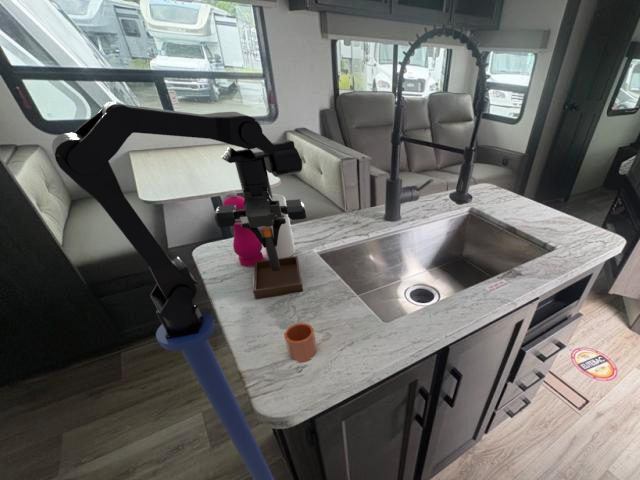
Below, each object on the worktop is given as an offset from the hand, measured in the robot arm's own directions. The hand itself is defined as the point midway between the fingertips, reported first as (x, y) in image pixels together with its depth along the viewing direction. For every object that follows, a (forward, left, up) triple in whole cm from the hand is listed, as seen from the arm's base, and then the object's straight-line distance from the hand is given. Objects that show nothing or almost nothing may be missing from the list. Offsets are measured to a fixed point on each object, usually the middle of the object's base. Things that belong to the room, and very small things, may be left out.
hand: (270, 246), depth 78 cm
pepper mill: (-7, +12, -10) cm, 17 cm away
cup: (+1, +15, -10) cm, 18 cm away
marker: (0, 0, -7) cm, 6 cm away
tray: (0, 0, -10) cm, 10 cm away
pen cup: (+4, -28, -10) cm, 30 cm away
